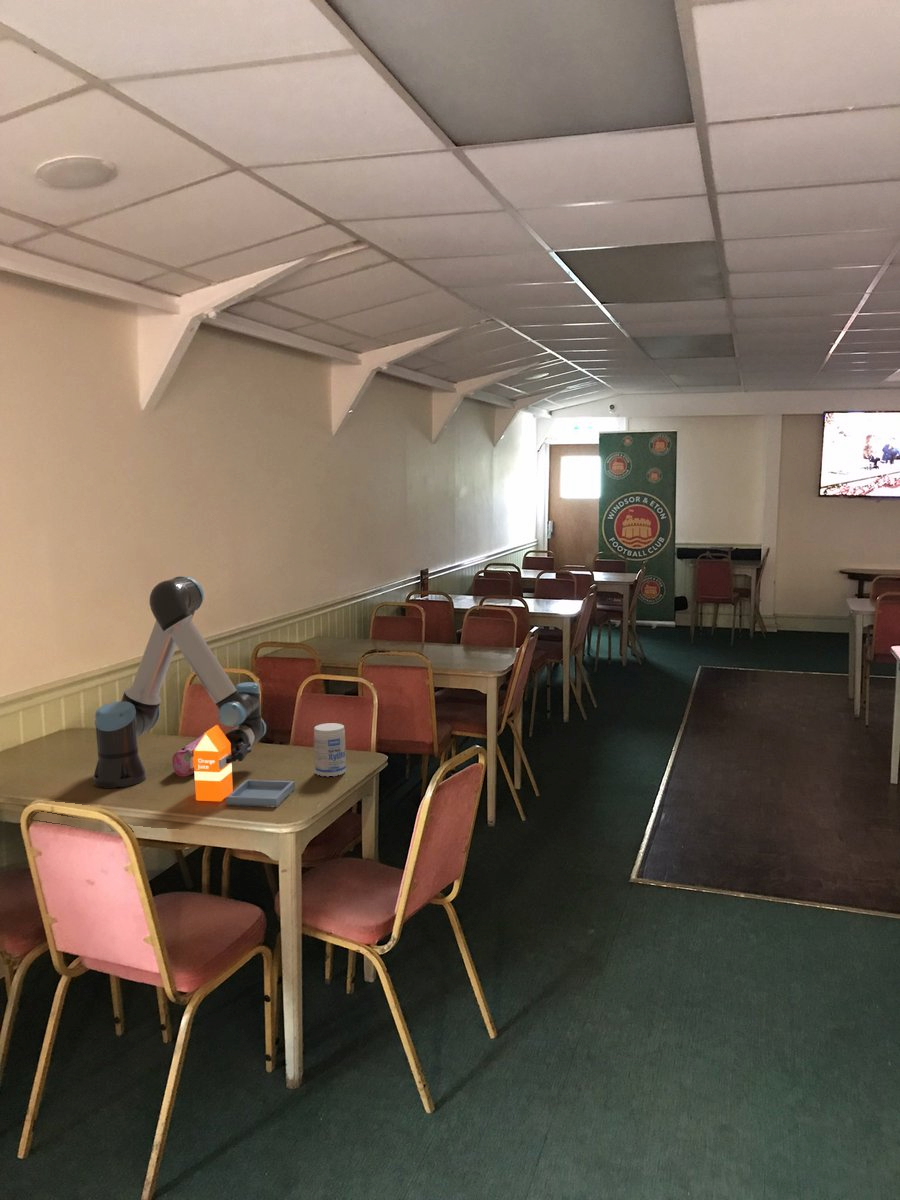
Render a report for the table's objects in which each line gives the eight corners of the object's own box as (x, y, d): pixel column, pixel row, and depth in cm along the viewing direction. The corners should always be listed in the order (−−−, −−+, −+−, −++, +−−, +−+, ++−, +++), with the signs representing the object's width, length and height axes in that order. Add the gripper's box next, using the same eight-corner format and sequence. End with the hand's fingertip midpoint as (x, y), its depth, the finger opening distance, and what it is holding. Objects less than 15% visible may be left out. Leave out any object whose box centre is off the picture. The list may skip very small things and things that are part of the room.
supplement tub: (333, 779, 279) (331, 732, 277) (309, 775, 284) (306, 728, 282) (352, 770, 287) (350, 724, 285) (328, 766, 292) (326, 721, 290)
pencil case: (196, 778, 284) (195, 749, 283) (169, 777, 286) (167, 748, 284) (225, 757, 305) (224, 730, 304) (199, 756, 306) (198, 729, 305)
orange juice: (195, 800, 262) (191, 732, 259) (208, 789, 271) (204, 723, 268) (221, 801, 261) (218, 733, 258) (233, 791, 270) (230, 724, 267)
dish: (226, 805, 259) (225, 796, 259) (246, 787, 274) (246, 779, 273) (277, 807, 256) (276, 798, 256) (295, 789, 271) (294, 781, 271)
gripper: (270, 753, 281) (241, 778, 258) (206, 751, 284) (172, 775, 262) (269, 730, 280) (239, 752, 257) (205, 727, 283) (170, 749, 261)
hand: (205, 763), depth 260 cm, fingers closed on orange juice, 8 cm apart
